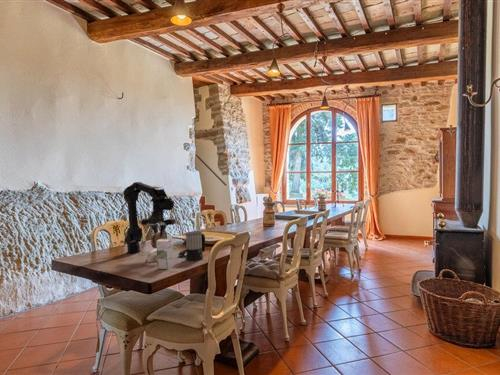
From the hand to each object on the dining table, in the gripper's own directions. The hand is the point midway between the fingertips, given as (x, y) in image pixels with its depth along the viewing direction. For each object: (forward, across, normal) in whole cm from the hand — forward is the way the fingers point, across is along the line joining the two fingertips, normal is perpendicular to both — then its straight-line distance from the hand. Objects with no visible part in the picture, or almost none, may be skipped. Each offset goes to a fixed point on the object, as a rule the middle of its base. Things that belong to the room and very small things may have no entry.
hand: (159, 236), depth 200 cm
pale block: (+12, 0, 0) cm, 12 cm away
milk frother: (+12, +19, 0) cm, 22 cm away
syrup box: (+12, +14, -22) cm, 29 cm away
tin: (+6, 0, 0) cm, 6 cm away
